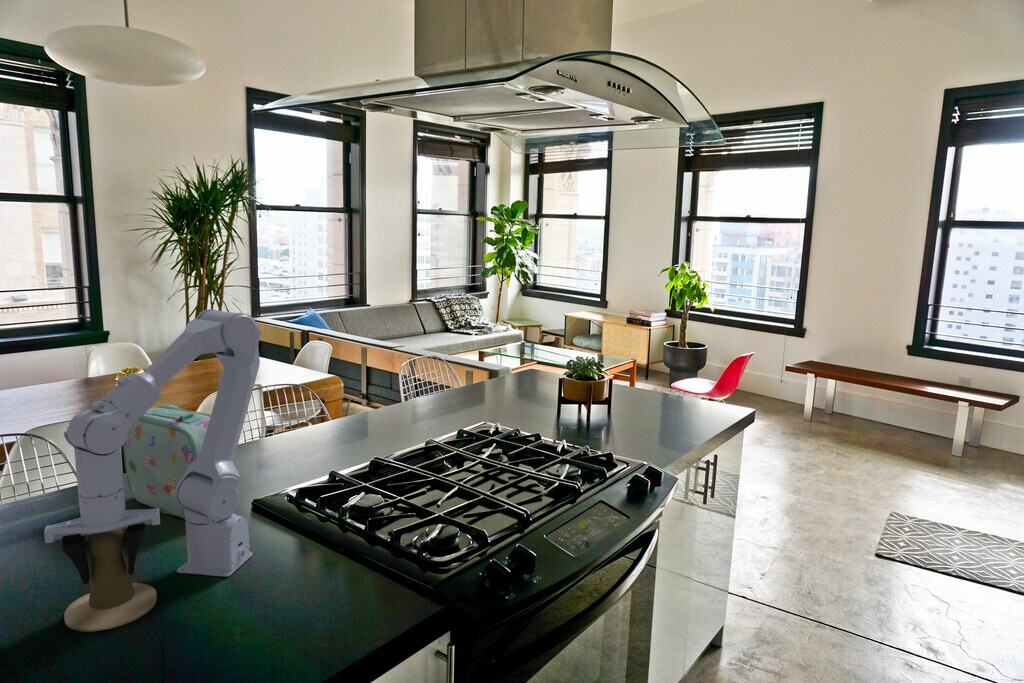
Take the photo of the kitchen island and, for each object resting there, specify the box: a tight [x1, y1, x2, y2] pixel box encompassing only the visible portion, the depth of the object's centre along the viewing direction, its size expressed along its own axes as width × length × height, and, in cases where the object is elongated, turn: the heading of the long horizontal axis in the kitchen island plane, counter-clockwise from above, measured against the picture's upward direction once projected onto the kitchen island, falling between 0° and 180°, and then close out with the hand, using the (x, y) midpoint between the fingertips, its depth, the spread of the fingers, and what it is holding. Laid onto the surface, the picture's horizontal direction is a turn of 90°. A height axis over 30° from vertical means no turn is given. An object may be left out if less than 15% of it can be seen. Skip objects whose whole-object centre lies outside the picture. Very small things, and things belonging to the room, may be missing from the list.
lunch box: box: [122, 404, 211, 520], centre depth 137 cm, size 27×10×21 cm, turn 61°
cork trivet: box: [63, 582, 158, 632], centre depth 100 cm, size 12×12×1 cm
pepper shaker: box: [86, 529, 134, 609], centre depth 101 cm, size 6×6×11 cm
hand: (109, 576), depth 100 cm, fingers open, 5 cm apart
